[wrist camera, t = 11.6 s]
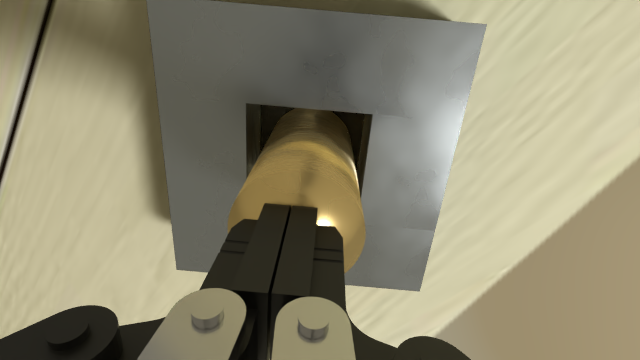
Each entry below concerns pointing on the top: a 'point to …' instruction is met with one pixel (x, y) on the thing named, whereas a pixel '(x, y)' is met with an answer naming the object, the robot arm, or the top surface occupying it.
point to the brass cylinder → (308, 176)
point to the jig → (311, 93)
